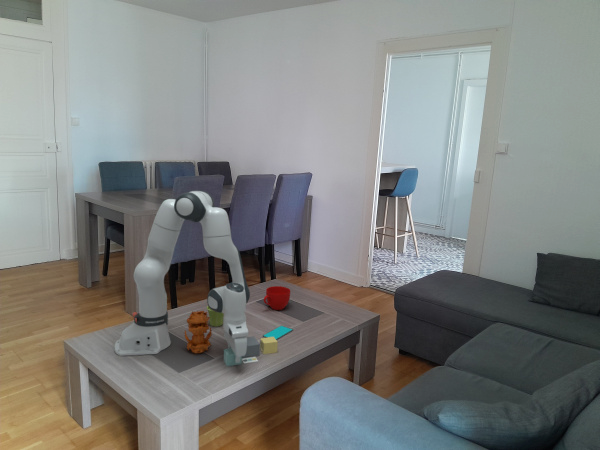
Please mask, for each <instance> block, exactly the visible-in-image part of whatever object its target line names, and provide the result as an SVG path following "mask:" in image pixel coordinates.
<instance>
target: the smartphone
mask: <svg viewBox="0 0 600 450" xmlns="http://www.w3.org/2000/svg"><path fill="white" fill-rule="evenodd" d="M293 331H294V329H293V328H291V327H288V326H284V325H280V326H278V327H276V328H274V329H272V330H270V331H268V332H267V333H265V334H263V335H262V338H268V337H274V338H275V339H276V340H277V341H278V340H279V339H281V338H283V337H284V336H287V335H288V334H290V333H291V332H293Z"/></svg>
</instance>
